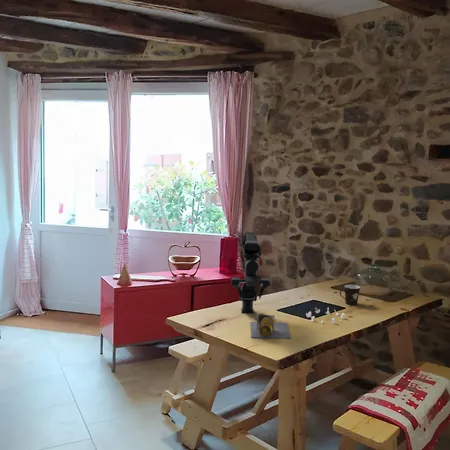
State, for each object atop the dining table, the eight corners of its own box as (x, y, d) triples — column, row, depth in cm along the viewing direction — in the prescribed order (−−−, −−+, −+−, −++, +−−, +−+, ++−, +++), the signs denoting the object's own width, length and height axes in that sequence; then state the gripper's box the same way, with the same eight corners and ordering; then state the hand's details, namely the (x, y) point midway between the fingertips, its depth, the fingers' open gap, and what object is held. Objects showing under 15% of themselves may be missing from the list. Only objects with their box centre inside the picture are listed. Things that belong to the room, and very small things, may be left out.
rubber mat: (250, 322, 259) (250, 321, 259) (286, 323, 258) (286, 322, 258) (251, 337, 237) (251, 336, 237) (290, 339, 236) (290, 337, 236)
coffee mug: (357, 302, 300) (358, 285, 298) (360, 306, 291) (361, 288, 290) (337, 301, 301) (338, 284, 300) (339, 305, 292) (340, 287, 291)
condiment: (274, 329, 247) (272, 339, 235) (256, 328, 248) (253, 338, 236) (274, 315, 245) (272, 324, 234) (256, 314, 247) (254, 323, 235)
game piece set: (346, 315, 275) (346, 308, 274) (341, 326, 256) (342, 319, 256) (310, 311, 281) (310, 304, 281) (302, 322, 263) (302, 314, 262)
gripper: (231, 271, 245) (231, 303, 248) (271, 272, 245) (270, 304, 247) (231, 265, 256) (231, 296, 259) (269, 266, 256) (268, 297, 258)
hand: (250, 298), depth 255 cm, fingers open, 9 cm apart
